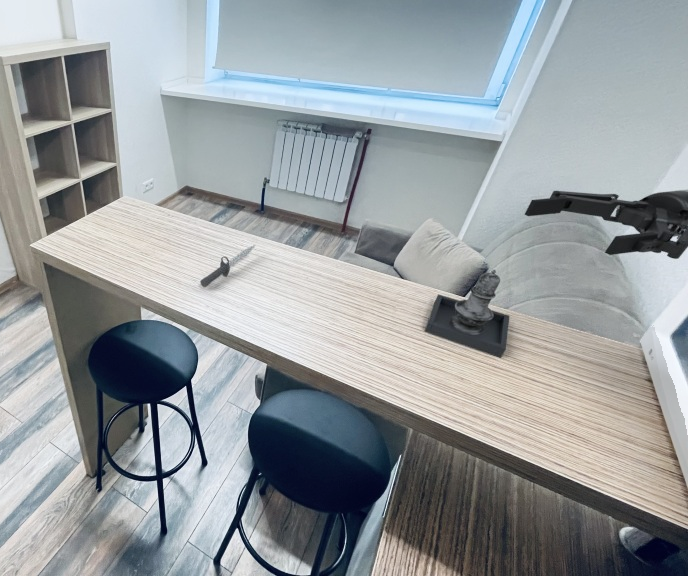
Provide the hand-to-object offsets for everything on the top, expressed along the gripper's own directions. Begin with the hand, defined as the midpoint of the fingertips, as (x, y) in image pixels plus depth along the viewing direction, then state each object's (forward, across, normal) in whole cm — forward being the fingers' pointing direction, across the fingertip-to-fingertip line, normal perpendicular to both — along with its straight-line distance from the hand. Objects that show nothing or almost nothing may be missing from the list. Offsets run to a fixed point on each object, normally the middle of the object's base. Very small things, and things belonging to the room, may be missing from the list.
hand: (567, 225), depth 65 cm
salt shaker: (+10, 0, -19) cm, 22 cm away
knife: (+46, +27, -20) cm, 57 cm away
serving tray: (+10, 0, -20) cm, 22 cm away
